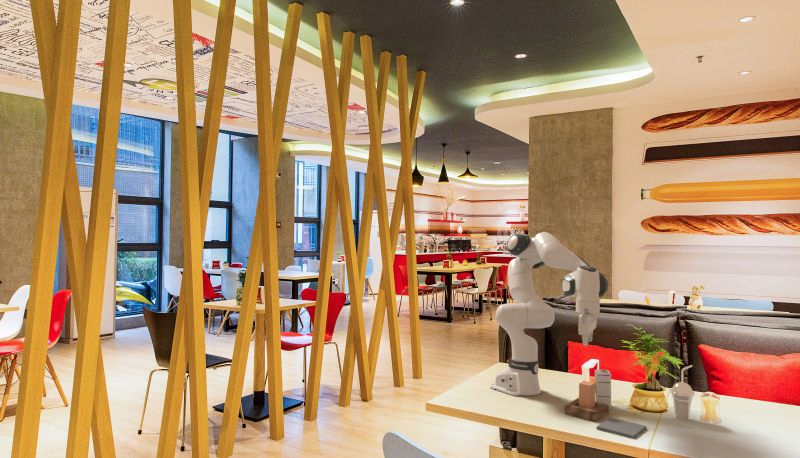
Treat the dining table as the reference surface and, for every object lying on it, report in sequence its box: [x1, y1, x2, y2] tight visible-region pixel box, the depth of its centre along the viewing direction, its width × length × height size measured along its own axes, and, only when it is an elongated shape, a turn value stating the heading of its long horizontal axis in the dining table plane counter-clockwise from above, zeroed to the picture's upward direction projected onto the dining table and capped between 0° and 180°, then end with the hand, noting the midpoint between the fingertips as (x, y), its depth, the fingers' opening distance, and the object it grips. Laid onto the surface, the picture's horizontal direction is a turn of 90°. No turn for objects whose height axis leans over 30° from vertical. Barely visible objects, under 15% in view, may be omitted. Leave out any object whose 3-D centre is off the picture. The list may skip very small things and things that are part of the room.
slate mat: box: [596, 417, 647, 440], centre depth 199 cm, size 13×13×1 cm
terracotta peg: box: [578, 380, 595, 409], centre depth 215 cm, size 4×4×12 cm
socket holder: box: [564, 397, 610, 423], centre depth 215 cm, size 12×12×4 cm
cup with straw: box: [669, 364, 696, 422], centre depth 210 cm, size 8×9×20 cm
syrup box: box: [594, 369, 612, 410], centre depth 223 cm, size 6×6×14 cm
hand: (587, 343), depth 215 cm, fingers open, 8 cm apart
